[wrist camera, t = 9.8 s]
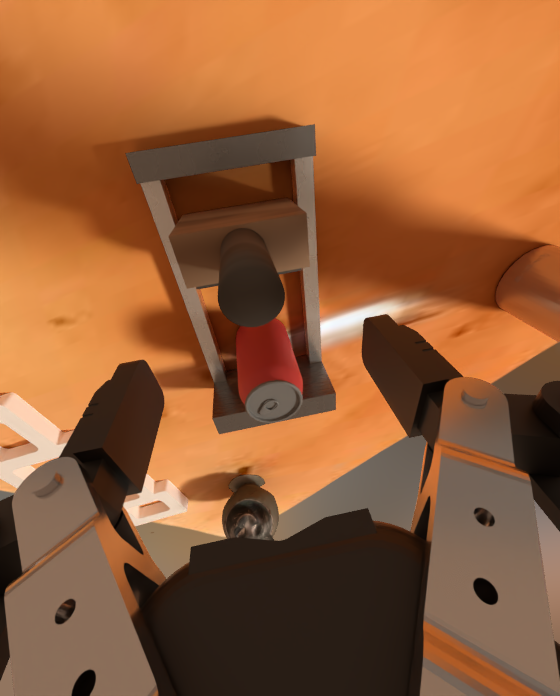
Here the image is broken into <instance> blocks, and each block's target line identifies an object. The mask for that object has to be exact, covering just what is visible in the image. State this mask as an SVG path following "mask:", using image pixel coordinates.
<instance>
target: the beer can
mask: <svg viewBox="0 0 560 696" xmlns="http://www.w3.org/2000/svg"><path fill="white" fill-rule="evenodd" d="M236 353H237V372H238V389H239V396H240V398H241V401H242V402H243V404H244V405H245V410H246V412H247V413H248V415H249V416H250V417H252V418H253V419H254V420H257V421H260V422H265V423H274V422H280V421H283V420H286V419H288V418H289V417H291V416H293V415H294V414H295V413H296V412H297V411H298V410H299V409H300V407H301V405H302V399H303V396H302V392H303V379H302V376H301V373H300V370H299V367H298V364H297V361H296V358H295V355H294V352H293V349H292V346H291V343H290V340H289V337H288V334H287V331H286V329H285V326H284V325H283V324H282V323H281V322H280V321H279V320H277V319H275V318H274V319H273V320H272V321H270V322H269V323H267V324H265V325H262V326H258V327H244V326H240V327H239V329H238V330H237V334H236Z"/></svg>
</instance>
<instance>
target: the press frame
mask: <svg viewBox="0 0 560 696" xmlns="http://www.w3.org/2000/svg"><path fill="white" fill-rule="evenodd" d="M125 154H126V156H127V159H128V162H129V164H130V167H131V169H132V172H133V175H134V177H135V180H136V183H137V184H139V183H140V184H141V186H142V189H143V192H144V195H145V197H146V200H147V203H148V205H149V208H150V211H151V213H152V216H153V219H154V222H155V224H156V227H157V230H158V232H159V235H160V238H161V240H162V243H163V246H164V248H165V251H166V254H167V257H168V259H169V262H170V265H171V267H172V270H173V273H174V275H175V278H176V281H177V284H178V286H179V289H180V292H181V294H182V297H183V300H184V302H185V305H186V308H187V311H188V313H189V316H190V319H191V321H192V324H193V327H194V329H195V332H196V335H197V338H198V340H199V343H200V346H201V348H202V351H203V354H204V356H205V359H206V362H207V365H208V367H209V370H210V373H211V375H212V378H213V381H214V398H213V418H212V419H213V421H214V423H215V426H216V428H217V430H218V433H219V434H223V433H227V432H232V431H237V430H242V429H246V428H251V427H256V426H261V425H265V424H270V423H265V422H260V421H257V420H254V419H253V418H252V417H250V416H249V415H248V413H247V412H246V410H245V405H244V404H243V402H242V401H241V398H240V396H239V389H238V372H237V369H233V370H227V371H226V368H225V365H224V362H223V359H222V356H221V353H220V350H219V347H218V344H217V340H216V337H215V334H214V331H213V328H212V325H211V322H210V319H209V316H208V313H207V309H206V306H205V303H204V300H203V297H202V294H201V291H200V289H196V287H194V288H189V289H187V288H186V285H185V282H184V279H183V277H182V274H181V271H180V268H179V265H178V262H177V260H176V257H175V254H174V251H173V248H172V245H171V243H170V240H169V237H168V236H169V235H170V233H171V232H172V230H173V229H174V227H175V226H176V224H177V223H178V219H177V216H176V213H175V210H174V207H173V204H172V201H171V198H170V195H169V192H168V188H167V185H166V182H165V179H171V178H177V177H183V176H190V175H196V174H202V173H209V172H215V171H221V170H228V169H234V168H240V167H247V166H253V165H259V164H265V163H272V162H278V161H284V160H290V162H291V174H292V186H293V198H294V203H295V204H296V205H297V206H298V207H300V208H301V209H302V210H303V211H305V212H306V213H307V226H308V243H309V260H310V267H305V268H302V271H300V282H301V294H302V306H303V319H304V331H305V343H306V355H303V356H298V357H295V358H296V361H297V364H298V367H299V370H300V373H301V376H302V379H303V392H302V396H303V399H302V405H301V407H300V409H299V410H298V411H297V412H296V413H295V414H294V415H293V416H291V417H289V418H288V419H286V420H289V419H294V418H299V417H304V416H308V415H313V414H318V413H323V412H327V411H332V410H336V393H335V390H334V388H333V386H332V384H331V381H330V379H329V377H328V375H327V373H326V370H325V368H324V366H323V364H322V361H321V337H320V313H319V289H318V266H317V242H316V218H315V194H314V170H313V156H316V143H315V124H314V125H307V126H301V127H294V128H288V129H281V130H275V131H268V132H261V133H255V134H248V135H242V136H235V137H229V138H222V139H215V140H209V141H202V142H196V143H189V144H183V145H176V146H170V147H163V148H156V149H150V150H143V151H137V152H130V153H125ZM283 421H285V420H283ZM274 423H275V422H274Z"/></svg>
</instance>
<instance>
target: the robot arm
mask: <svg viewBox="0 0 560 696" xmlns="http://www.w3.org/2000/svg"><path fill="white" fill-rule="evenodd" d="M496 302H497V305H498V306H499V307H500V308H501V309H503V310H505V311H506V312H508V313H510V314H511V315H513V316H515V317H517V318H518V319H520V320H522V321H523V322H525V323H527V324H528V325H530V326H532V327H534V328H535V329H537V330H539V331H540V332H542V333H544V334H546V335H547V336H549V337H551V338H552V339H554V340H556V341H558V342H559V343H560V247H558V246H554V245H546V246H542V247H539V248H536V249H534V250H532V251H530V252H528V253H527V254H525V255H523V256H522V257H521V258H519V259H518V260H517V261H516V262H515V263H514V264H513V265H512V266H511V267H510V268H509V269H508V270H507V271H506V273H505V274H504V275H503V277H502V279H501V280H500V282H499V284H498V287H497V290H496ZM362 359H363V363H364V365H365V367H366V369H367V371H368V372H369V374H370V375H371V377H372V379H373V380H374V382H375V384H376V385H377V387H378V388H379V390H380V392H381V393H382V395H383V396H384V398H385V400H386V401H387V403H388V404H389V406H390V408H391V409H392V411H393V412H394V414H395V416H396V417H397V419H398V420H399V422H400V424H401V425H402V427H403V428H404V430H405V432H406V433H407V435H408V436H409V438H410V437H415V436H420V435H423V437H424V438H425V440H426V441H427V443H426V446H425V452H424V459H423V465H422V472H421V478H420V484H419V491H418V498H417V503H416V507H415V511H414V515H413V520H412V525H411V530H410V531H408V530H405V529H403V528H401V527H398V526H395V525H392V524H388V523H384V522H380V521H373V520H372V518H371V515H370V513H369V510H368V508H367V509H361V510H357V511H352V512H348V513H344V514H339V515H334V516H330V517H326V518H323V519H322V520H320V521H318V522H316V523H315V524H313V525H311V526H309V527H307V528H305V529H304V530H302V531H300V532H298V533H297V534H295V535H293V536H291V537H290V538H288V539H285V540H282V541H274V540H262V539H250V538H239V537H234V538H229V539H225V540H220V541H216V542H211V543H207V544H202V545H198V546H193V547H191V553H190V562H189V563H187V564H185V565H184V566H183V567H181V568H180V569H178V570H177V571H175V572H174V573H173V574H172V575H171V576H169V577H168V578H167V579H166V578H165V576H164V575H163V573H162V572H161V571H160V570H159V568H158V567H157V566H156V564H155V563H154V561H153V560H152V558H151V557H150V555H149V553H148V551H147V549H146V547H145V545H144V544H143V541H142V540H141V537H140V535H139V533H138V532H137V530H136V528H135V526H134V524H133V522H132V520H131V518H130V516H129V514H128V512H127V510H126V509H125V508H124V507H123V505H124V501H125V498H126V496H128V495H133V494H138V493H142V489H143V485H144V482H145V478H146V474H147V470H148V466H149V462H150V458H151V455H152V451H153V447H154V443H155V439H156V435H157V431H158V428H159V424H160V420H161V416H162V412H163V408H164V395H163V392H162V389H161V387H160V386H159V384H158V382H157V380H156V378H155V376H154V374H153V373H152V371H151V369H150V367H149V365H148V364H147V362H146V361H145V360H138V361H132V362H127V363H122V364H119V365H118V367H117V369H116V371H115V373H114V375H113V377H112V379H111V380H108V381H106V382H105V383H104V384H103V385H102V386H101V387H100V388H99V389H98V390H97V391H96V392H95V394H94V395H93V397H92V399H91V401H90V403H89V404H88V406H89V407H87V408H86V410H85V412H84V413H83V415H82V416H83V418H81V419H80V421H79V422H78V424H77V426H76V428H75V429H74V431H73V433H72V435H71V437H70V438H69V440H68V442H67V444H66V446H65V447H64V449H63V451H62V453H61V454H60V456H59V458H57V459H54V460H51V461H49V462H47V463H45V464H43V465H42V466H40V467H39V468H37V469H36V470H35V471H33V472H32V473H31V474H30V475H29V476H28V477H27V478H26V479H25V480H24V481H23V482H22V483H21V484H20V486H19V487H18V489H17V490H16V492H15V494H14V495H12V496H10V497H8V498H6V499H4V500H1V501H0V680H1V678H2V675H3V673H4V670H5V668H6V665H7V663H8V660H9V658H10V660H11V670H12V678H13V689H14V696H560V644H558V643H557V642H556V641H554V637H553V630H552V623H551V616H550V610H549V603H548V596H547V589H546V582H545V575H544V568H543V561H542V554H541V548H540V541H539V534H538V527H537V520H536V513H535V506H534V500H535V501H536V503H537V504H538V505H539V506H540V508H541V509H542V510H543V511H544V513H545V514H546V515H547V516H548V518H549V519H550V520H551V521H552V522H553V524H554V525H555V526H556V528H557V529H558V530H559V531H560V381H553V382H549V383H546V384H545V385H544V386H543V387H542V389H541V390H540V392H539V393H538V395H537V396H536V395H517V394H515V395H514V394H503V393H502V392H501V391H500V390H499V389H498V388H496V387H495V386H494V385H492V384H490V383H488V382H486V381H483V380H480V379H476V378H471V377H463V376H462V375H461V374H460V373H459V372H458V371H457V370H456V369H455V368H454V367H453V366H452V365H451V364H450V363H449V362H448V361H447V360H446V359H445V358H444V357H443V356H441V355H440V354H439V353H438V352H437V351H436V350H434V349H433V347H432V346H431V345H430V344H429V343H428V342H426V340H425V339H424V338H423V337H422V336H421V335H420V334H419V333H418V332H417V331H415V330H413V329H411V328H409V327H407V326H405V325H400V326H398V325H397V324H396V323H395V322H394V321H393V319H392V318H391V317H390V316H389V315H387V314H385V315H380V316H374V317H369V318H366V319H365V320H364V324H363V340H362Z"/></svg>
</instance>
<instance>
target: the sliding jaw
mask: <svg viewBox="0 0 560 696" xmlns="http://www.w3.org/2000/svg"><path fill="white" fill-rule="evenodd" d="M168 237H169V240H170V243H171V245H172V248H173V251H174V254H175V257H176V260H177V262H178V265H179V268H180V271H181V274H182V277H183V279H184V282H185V285H186V288H187V289H189V288H194V287H196V289H202V288H208V287H213V286H218V303H219V306H220V309H221V311H222V312H223V314H224V315H225V316H226V317H227V318H228V319H229V320H230V321H232V322H233V323H235V324H237V325H240V326H244V327H258V326H262V325H265V324H267V323H269V322H270V321H272V320H273V319H274V318H275V317H276V316H277V315H278V314H279V313H280V311H281V309H282V307H283V305H284V300H285V292H284V288H283V285H282V282H281V280H280V278H279V274H285V273H290V272H296V271H302V268H305V267H310V260H309V243H308V226H307V213H306V212H305V211H303V210H302V209H301V208H300V207H298V206H297V205H296V204H295V203H293V202H292V201H291V200H290V199H288V198H281V199H275V200H269V201H263V202H257V203H251V204H245V205H239V206H233V207H227V208H221V209H215V210H209V211H203V212H197V213H191V214H185V215H182V217H181V218H180V220H179V221H178V223H177V224H176V226H175V227H174V229H173V230H172V232H171V233H170V235H169V236H168Z"/></svg>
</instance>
